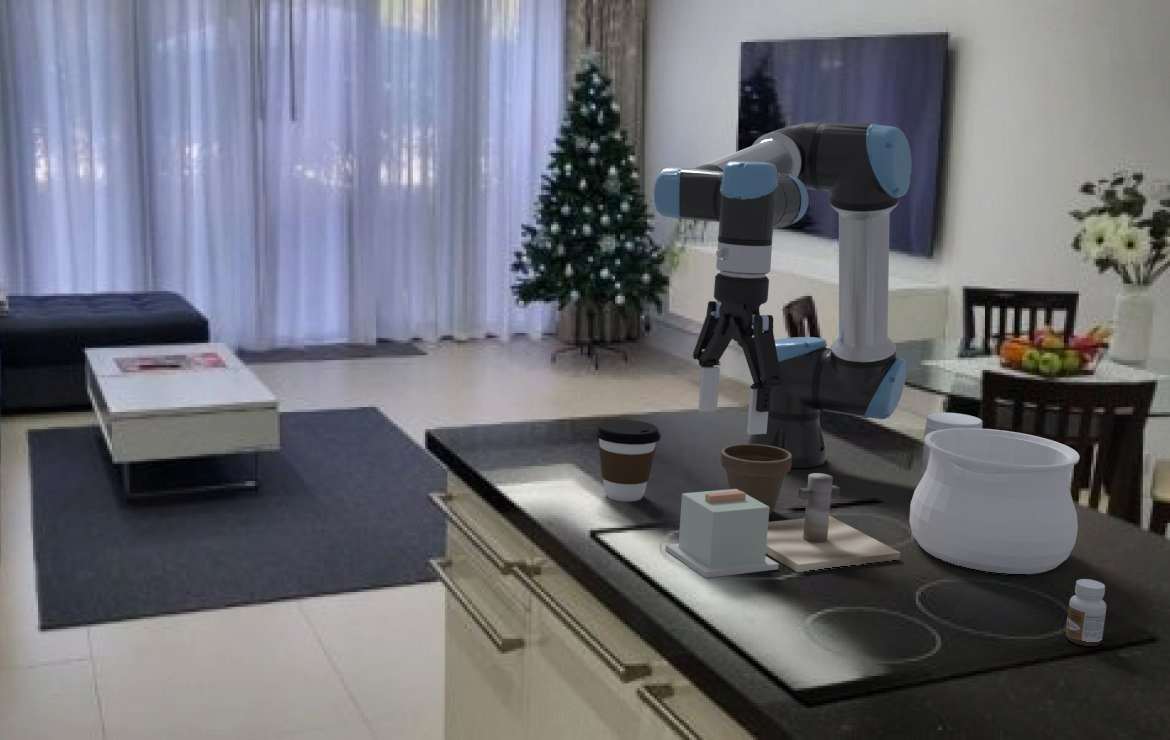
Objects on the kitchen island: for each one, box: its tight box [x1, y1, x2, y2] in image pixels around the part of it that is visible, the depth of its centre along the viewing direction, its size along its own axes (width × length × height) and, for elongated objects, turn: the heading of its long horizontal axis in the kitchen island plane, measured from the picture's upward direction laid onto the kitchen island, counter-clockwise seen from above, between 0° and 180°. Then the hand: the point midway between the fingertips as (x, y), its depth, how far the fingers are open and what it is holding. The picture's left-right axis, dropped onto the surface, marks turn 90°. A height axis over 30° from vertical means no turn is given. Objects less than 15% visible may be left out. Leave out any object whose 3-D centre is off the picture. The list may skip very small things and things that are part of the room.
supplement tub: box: [919, 412, 983, 482], centre depth 221 cm, size 10×10×15 cm
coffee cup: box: [594, 419, 661, 503], centre depth 214 cm, size 11×11×12 cm
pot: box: [909, 428, 1081, 575], centre depth 194 cm, size 26×24×17 cm
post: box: [766, 472, 901, 573], centre depth 193 cm, size 18×18×11 cm
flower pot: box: [720, 443, 792, 515], centre depth 210 cm, size 12×11×10 cm
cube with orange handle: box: [678, 489, 770, 568], centre depth 186 cm, size 9×9×9 cm
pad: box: [664, 542, 779, 579], centre depth 187 cm, size 12×12×1 cm
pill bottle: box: [1065, 578, 1107, 642], centre depth 163 cm, size 4×4×8 cm
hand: (731, 422), depth 183 cm, fingers open, 13 cm apart
